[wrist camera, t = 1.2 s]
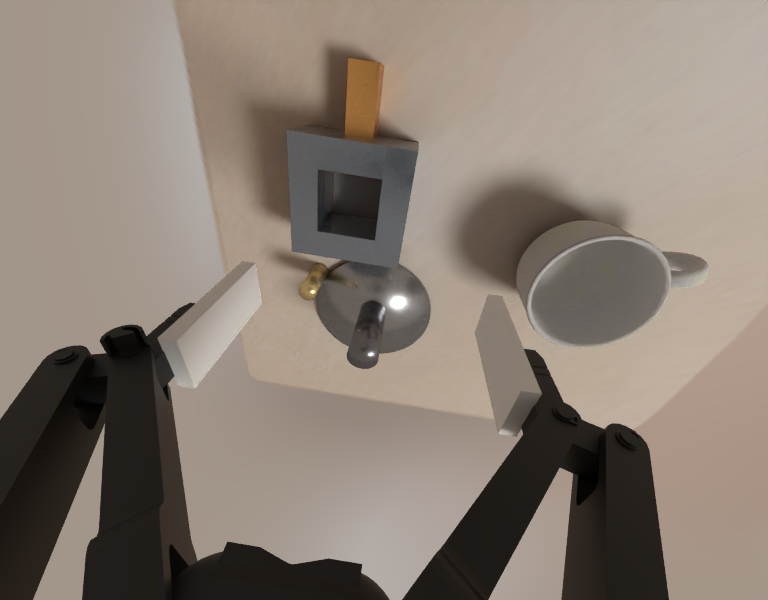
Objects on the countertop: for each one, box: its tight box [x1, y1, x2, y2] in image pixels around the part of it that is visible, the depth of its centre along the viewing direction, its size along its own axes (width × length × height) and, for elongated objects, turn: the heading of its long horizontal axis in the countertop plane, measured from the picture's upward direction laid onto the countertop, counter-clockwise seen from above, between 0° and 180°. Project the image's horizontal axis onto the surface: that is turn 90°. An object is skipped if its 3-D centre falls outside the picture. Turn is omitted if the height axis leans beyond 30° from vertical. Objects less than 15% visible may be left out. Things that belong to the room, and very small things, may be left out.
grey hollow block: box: [286, 58, 419, 269], centre depth 26 cm, size 15×10×6 cm, turn 173°
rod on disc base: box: [317, 261, 430, 369], centre depth 34 cm, size 14×14×9 cm
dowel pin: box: [299, 263, 328, 300], centre depth 33 cm, size 2×2×5 cm
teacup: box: [516, 220, 709, 349], centre depth 28 cm, size 14×11×8 cm
